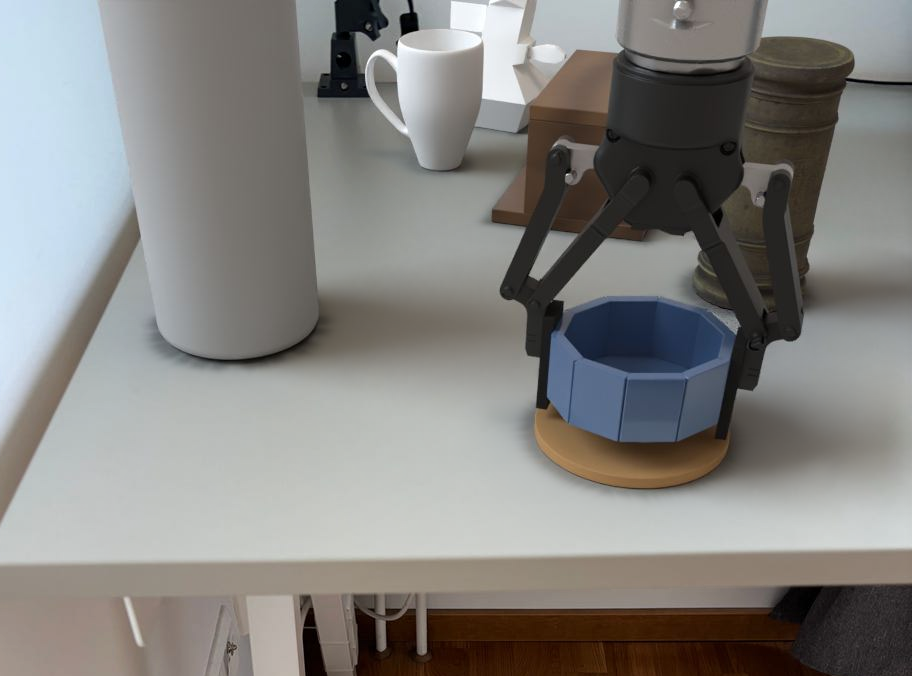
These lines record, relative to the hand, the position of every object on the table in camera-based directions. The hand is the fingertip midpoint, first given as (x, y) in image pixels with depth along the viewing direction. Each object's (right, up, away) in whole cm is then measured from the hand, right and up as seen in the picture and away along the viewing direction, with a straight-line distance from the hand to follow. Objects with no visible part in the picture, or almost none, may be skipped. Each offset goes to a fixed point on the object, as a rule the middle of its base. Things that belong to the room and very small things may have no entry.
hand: (632, 414), depth 73 cm
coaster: (0, -1, +1) cm, 2 cm away
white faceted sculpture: (-6, +43, +49) cm, 65 cm away
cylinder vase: (-28, +9, +13) cm, 33 cm away
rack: (+2, +28, +32) cm, 43 cm away
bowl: (0, +1, -1) cm, 1 cm away
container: (+13, +14, +17) cm, 26 cm away
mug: (-14, +34, +40) cm, 54 cm away
